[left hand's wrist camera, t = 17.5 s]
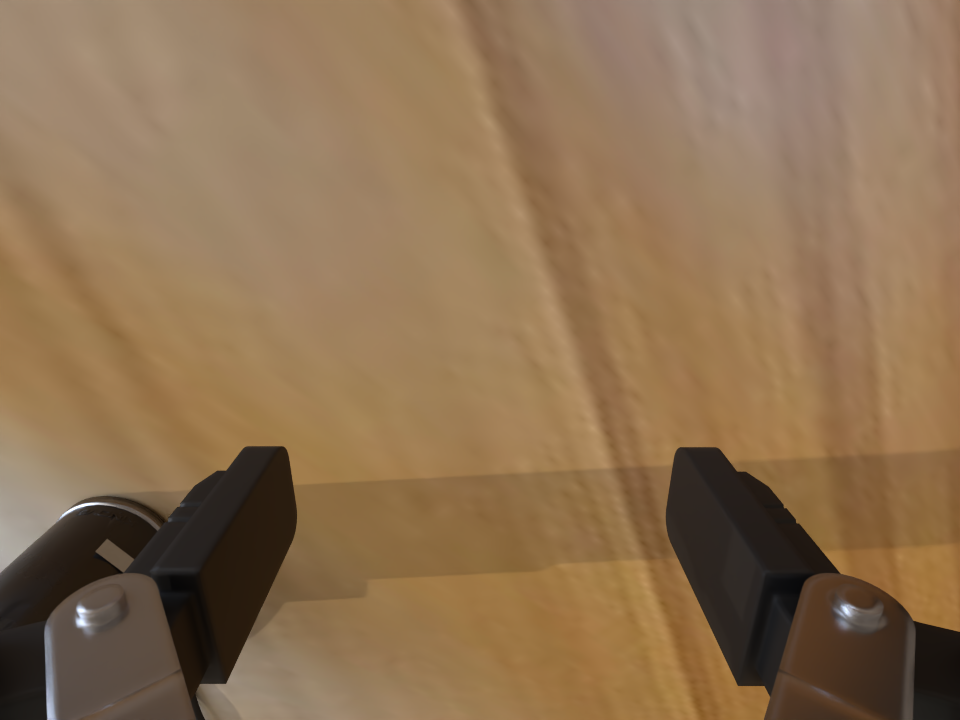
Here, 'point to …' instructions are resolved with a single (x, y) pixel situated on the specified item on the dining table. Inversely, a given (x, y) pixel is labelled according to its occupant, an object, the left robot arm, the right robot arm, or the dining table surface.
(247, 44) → the dining table surface
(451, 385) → the dining table surface
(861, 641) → the left robot arm
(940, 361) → the dining table surface
